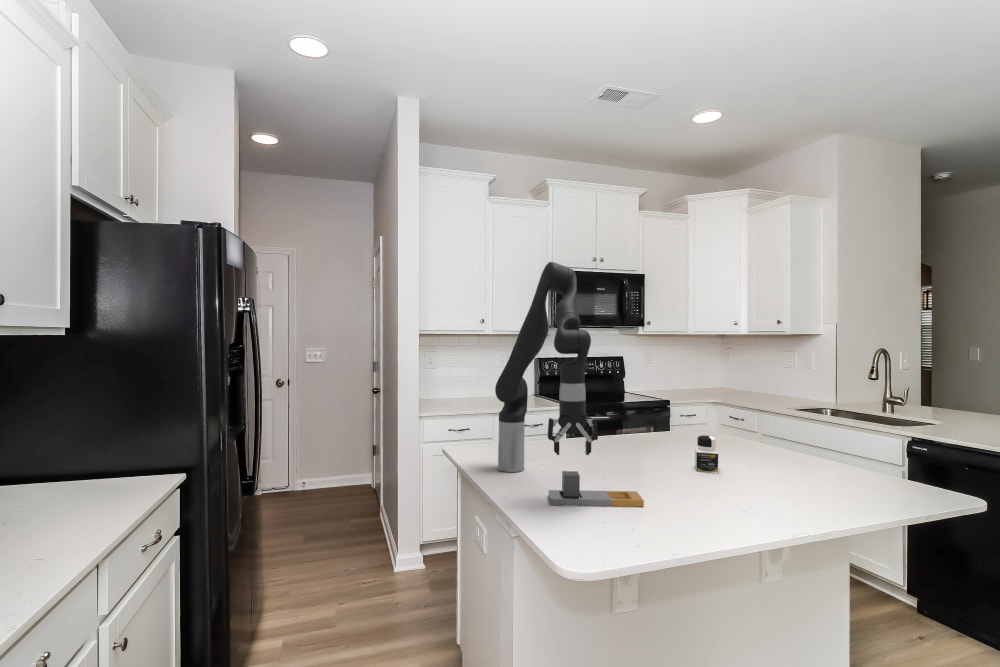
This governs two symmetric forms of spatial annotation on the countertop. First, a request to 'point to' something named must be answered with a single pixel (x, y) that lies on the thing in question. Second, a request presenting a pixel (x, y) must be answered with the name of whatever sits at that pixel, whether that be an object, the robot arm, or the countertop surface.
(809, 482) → the countertop surface
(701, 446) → the medicine bottle
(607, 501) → the rail
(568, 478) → the grey rectangular block
